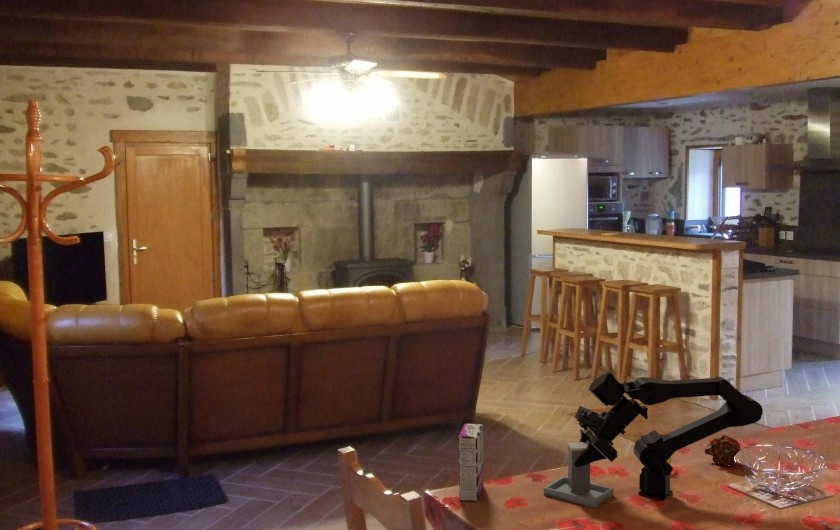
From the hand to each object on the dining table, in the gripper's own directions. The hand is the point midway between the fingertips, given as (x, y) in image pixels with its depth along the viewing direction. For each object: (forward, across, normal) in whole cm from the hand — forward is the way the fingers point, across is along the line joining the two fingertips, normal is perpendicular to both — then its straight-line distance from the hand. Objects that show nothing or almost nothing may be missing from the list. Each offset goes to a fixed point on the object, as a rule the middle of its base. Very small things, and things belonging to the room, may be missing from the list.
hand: (573, 462), depth 201 cm
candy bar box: (+24, -2, -12) cm, 27 cm away
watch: (-13, -18, +25) cm, 34 cm away
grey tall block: (+4, 0, +6) cm, 7 cm away
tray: (+5, 0, +7) cm, 8 cm away
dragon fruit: (-26, -22, +39) cm, 52 cm away
